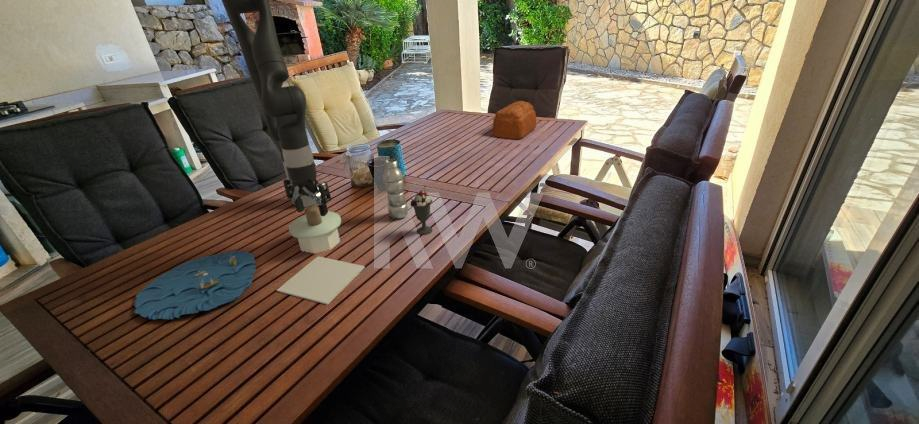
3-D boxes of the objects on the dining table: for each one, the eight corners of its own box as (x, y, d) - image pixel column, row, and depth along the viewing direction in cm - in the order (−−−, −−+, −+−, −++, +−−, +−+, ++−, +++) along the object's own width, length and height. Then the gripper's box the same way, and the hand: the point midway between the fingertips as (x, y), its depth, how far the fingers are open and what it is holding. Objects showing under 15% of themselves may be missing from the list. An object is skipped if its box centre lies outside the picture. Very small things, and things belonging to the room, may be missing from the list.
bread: (537, 127, 219) (538, 100, 212) (521, 140, 201) (521, 111, 194) (509, 125, 227) (509, 98, 220) (490, 137, 209) (490, 108, 202)
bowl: (292, 249, 120) (287, 232, 117) (317, 230, 129) (313, 214, 126) (323, 255, 116) (318, 238, 113) (346, 236, 125) (343, 219, 122)
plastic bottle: (405, 221, 131) (397, 164, 122) (386, 220, 133) (377, 164, 123) (411, 212, 137) (404, 157, 128) (392, 211, 138) (384, 157, 129)
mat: (277, 291, 102) (276, 290, 102) (318, 257, 115) (317, 256, 115) (327, 304, 96) (327, 303, 96) (364, 267, 109) (364, 266, 109)
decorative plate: (173, 344, 88) (163, 326, 85) (116, 301, 102) (106, 285, 100) (286, 273, 109) (281, 257, 107) (226, 246, 124) (220, 231, 122)
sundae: (438, 226, 127) (434, 183, 120) (430, 237, 122) (425, 192, 115) (419, 224, 129) (414, 181, 122) (410, 234, 124) (404, 190, 117)
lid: (278, 234, 116) (273, 217, 114) (312, 211, 128) (308, 196, 126) (319, 242, 111) (315, 225, 108) (351, 217, 123) (348, 201, 120)
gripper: (269, 164, 109) (285, 215, 117) (310, 168, 104) (323, 222, 112) (289, 155, 116) (302, 204, 123) (329, 159, 110) (340, 210, 118)
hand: (312, 213), depth 117 cm, fingers open, 8 cm apart
